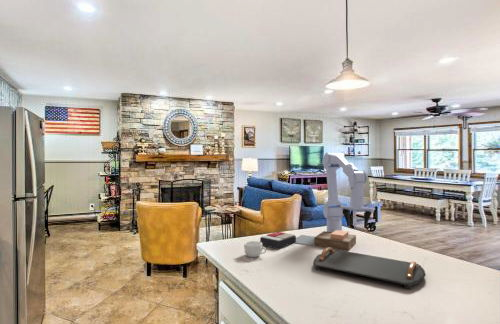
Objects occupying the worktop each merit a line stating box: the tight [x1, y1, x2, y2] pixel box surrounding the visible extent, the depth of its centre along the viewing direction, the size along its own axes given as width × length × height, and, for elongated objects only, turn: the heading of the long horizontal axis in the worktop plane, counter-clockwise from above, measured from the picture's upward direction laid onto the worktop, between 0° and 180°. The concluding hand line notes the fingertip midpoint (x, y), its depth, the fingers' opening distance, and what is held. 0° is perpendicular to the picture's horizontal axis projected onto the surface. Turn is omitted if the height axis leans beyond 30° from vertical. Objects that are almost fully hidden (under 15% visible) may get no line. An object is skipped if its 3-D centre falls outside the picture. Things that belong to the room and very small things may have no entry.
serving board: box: [312, 247, 426, 291], centre depth 121 cm, size 39×23×6 cm, turn 55°
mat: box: [293, 234, 315, 247], centre depth 163 cm, size 16×12×1 cm
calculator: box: [259, 231, 297, 250], centre depth 156 cm, size 11×4×15 cm
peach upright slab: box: [330, 230, 349, 240], centre depth 154 cm, size 9×6×2 cm, turn 149°
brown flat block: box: [313, 230, 357, 252], centre depth 155 cm, size 14×16×4 cm
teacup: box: [243, 240, 267, 258], centre depth 138 cm, size 10×8×5 cm
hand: (356, 226), depth 149 cm, fingers open, 7 cm apart
